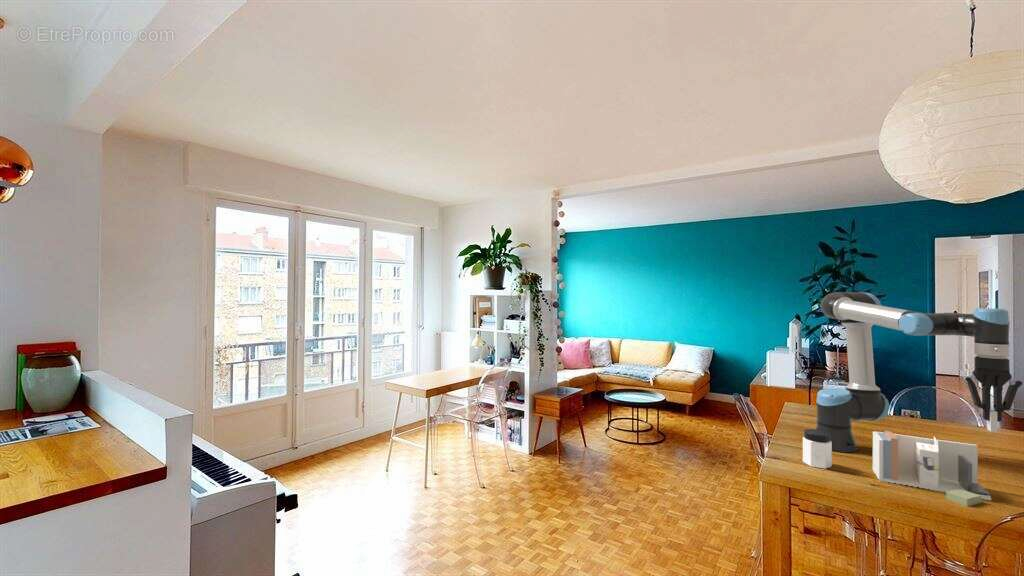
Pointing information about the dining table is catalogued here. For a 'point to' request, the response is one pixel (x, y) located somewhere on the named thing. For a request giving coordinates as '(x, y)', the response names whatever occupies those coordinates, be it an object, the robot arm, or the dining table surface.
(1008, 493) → the dining table surface
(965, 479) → the bookend
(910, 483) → the shelf
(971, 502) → the fallen book
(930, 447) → the ink box
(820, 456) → the jar
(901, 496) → the dining table surface
